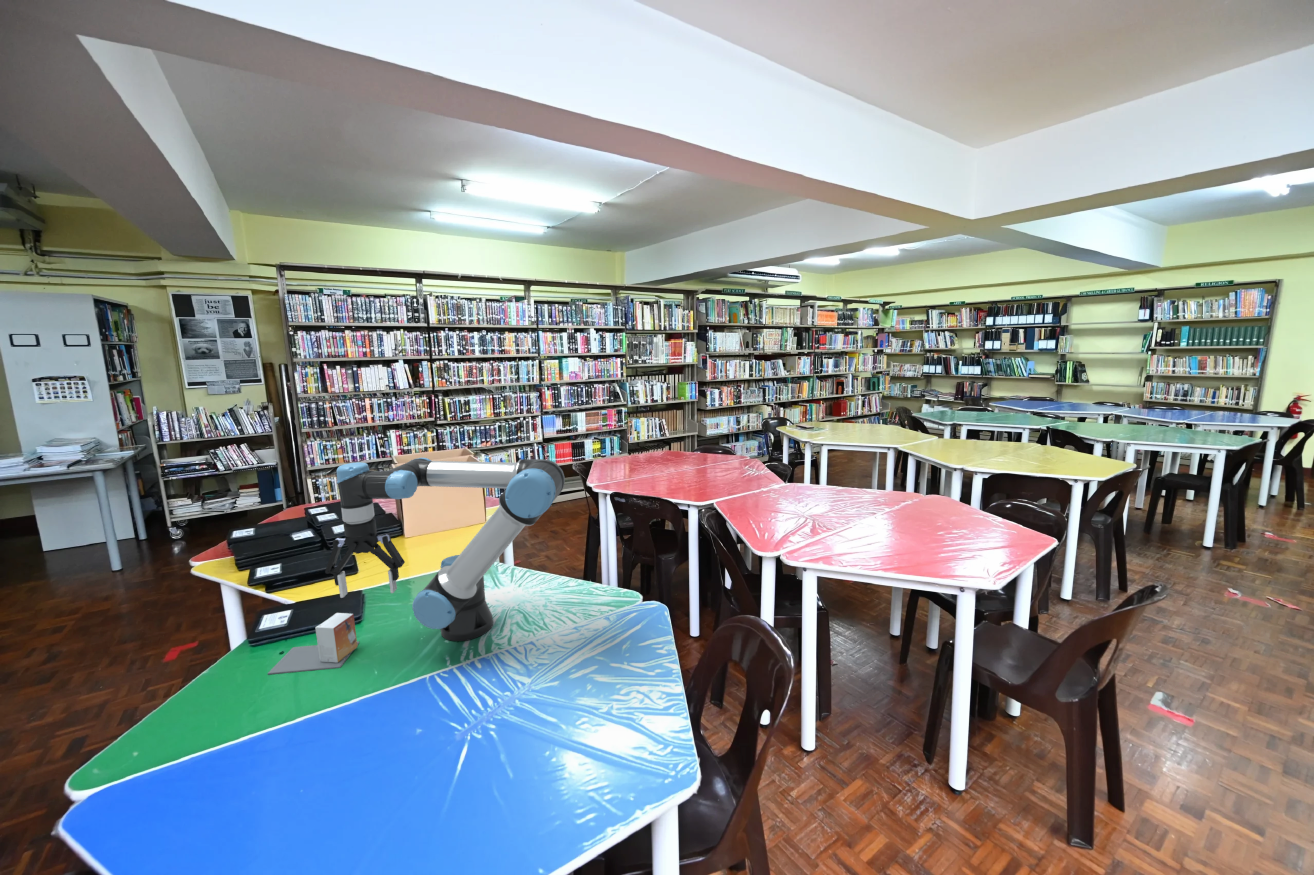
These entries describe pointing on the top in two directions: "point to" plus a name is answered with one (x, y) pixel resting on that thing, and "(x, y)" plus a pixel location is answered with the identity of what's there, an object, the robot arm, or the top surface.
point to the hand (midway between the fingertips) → (369, 593)
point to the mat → (304, 661)
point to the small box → (336, 637)
